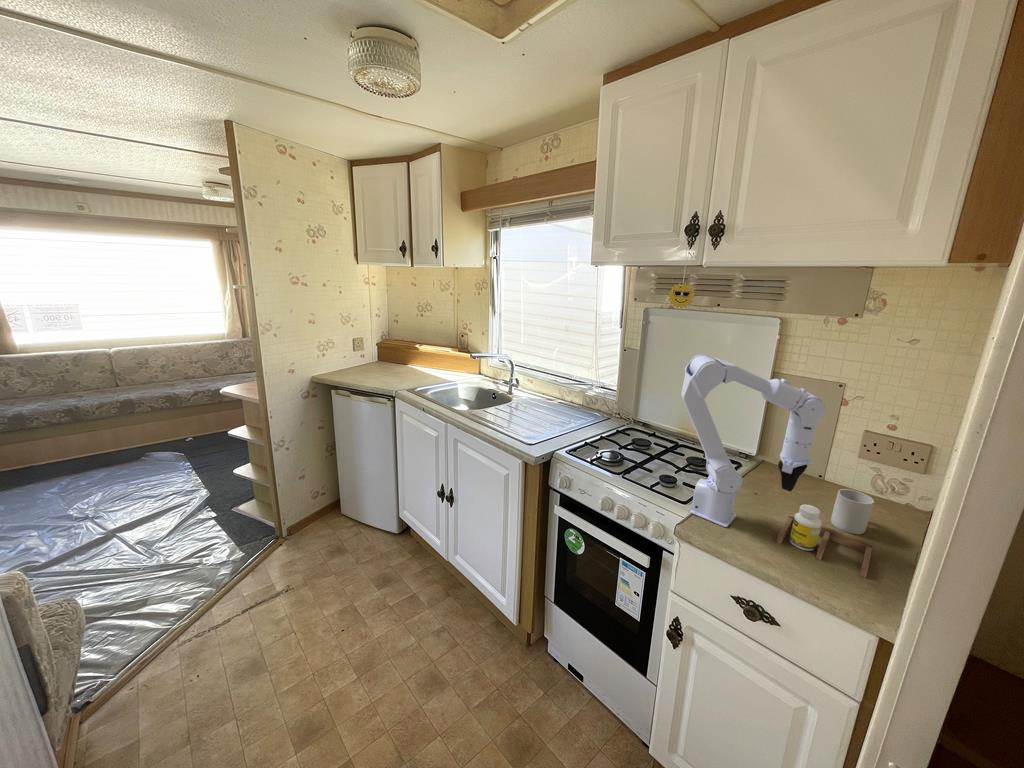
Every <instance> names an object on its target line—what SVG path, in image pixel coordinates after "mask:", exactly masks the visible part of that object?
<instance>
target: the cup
mask: <svg viewBox="0 0 1024 768" xmlns="http://www.w3.org/2000/svg"><path fill="white" fill-rule="evenodd" d="M874 503H875V501H874V499H873V497H871V496H870V495H867V494H865V493H862V492H861V491H857V490H854V489H847V488H845V489H844V488H842V489H838V491H837V495H836V498H835V501H834V506H833V510H832V514H831V516H830V517H831V518H830V522H831V524H832V525H833V526H834V527H835V528H836V529H838V530H841V531H842V532H843V533H844V532H845V533H848V534H853V535H862V534H864V533H865V532H866V530H867V527H868V524H869V520H870V516H871V514H872V510H873V506H874Z"/></svg>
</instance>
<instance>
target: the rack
mask: <svg viewBox="0 0 1024 768" xmlns="http://www.w3.org/2000/svg"><path fill="white" fill-rule="evenodd" d="M794 516H795V514H788V517H787V518H786V521H785V522H784V523H783V525H782V527H781V529H780V531H779V532H778V534H777V536H776V537H777V538H776V543H778V544H780V545H782V543H783V541H784V540H785V538H786V535H787V534H788V533H789V531H790V529H791V528H792V525H793V520H794ZM819 537H821V541H820V544H819V547H818V548H817V551H816V556H815V559H817V560H819V561H822V558H823V557H824V556H823V555H824V553H825V551H826V548H827V545H828V542H829V541H832V542H835V543H837V544H840V545H843V546H846V547H848V548H851V549H854V550H857V551H860V552H862V553H864V555H863V560H862V563H861V569H860V572H859V577H862V578H864V579H866V577H867V575H868V570H869V566H870V562H871V561H870V560H871V557H872V550H873V547H874V543H872V542H869V541H866V540H863V539H861V538H858V537H855V536H852V535H850V534H846V533H844V532H841V531H839V530H838V531H837V530H835V529H833V528H830V527H827V526H824V525H821V529H820V534H819Z"/></svg>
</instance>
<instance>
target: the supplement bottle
mask: <svg viewBox="0 0 1024 768" xmlns="http://www.w3.org/2000/svg"><path fill="white" fill-rule="evenodd" d="M798 511H799V512H797V513H795V514H794V520H793V525H792V526H791V530H790V531H791V532H790V535H789V542H790V543H791V544H792V545H793V546H794V547H796V548H798V549H800V550H802V551H806V552H807V551H808V552H809V551H810V552H813V551H814V550H816V549H817V546H818V542H819V538H820V536H819V534H820V529H821V525H822V523H823V522H822V520H821V518H820V516H821V510H820V509H819V508H817V507H816V506H813V505H811V504H801V505H800V507H799V509H798ZM822 526H823V525H822Z"/></svg>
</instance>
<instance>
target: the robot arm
mask: <svg viewBox="0 0 1024 768" xmlns="http://www.w3.org/2000/svg"><path fill="white" fill-rule="evenodd" d="M714 359H715V360H714ZM731 382H736V383H738V384H741V385H743V386H745V387H747V388H751V389H752V390H755V391H758V392H760V394H761V396H762V398H763V400H765V401H767V402H769V403H771V404H774V405H776V406H778V407H780V408H782V409H784V410H786V411H789V412H790V413H789V416H788V417H789V418H788V421H787V426H786V431H785V435H784V440H783V445H782V449H781V452H780V453H779V458H780V460H779V461H778V463H777V467H778V469H779V472H780V480H781V489H782V490H785V491H788V492H792V491H793V490H794V488H795V486H796V484H797V481H798V479H799V478H800V476H801V475H802V474H803V473H805V471H806V469H807V468H808V465H809V466H812V465H814V463H815V460H814V459H811V458H810V454H811V450H812V445H813V441H814V438H815V433H816V429H817V426H818V423H819V421H820V420H821V418H823V417H824V416H825V414H826V413H827V412H828V411H827V409H826V408H825V407H826V406H825V402H823V400H822V399H821V398H820V397H817V396H815V395H814V394H812V393H810V392H808V390H807V389H805V388H803V387H801V388H799V387H796V386H794V385H791V384H789V383H790V382H789V381H788V380H786V379H784V378H780V379H779V378H772V379H768V380H766V379H765V378H763V377H761V376H759V375H756V374H755V373H753V372H750V371H748V370H746V369H744V368H742V367H741V366H738V365H736V364H735V363H732V362H729V361H726V360H723V359H721V358H717V357H714V358H713V357H711V356H710V355H709V354H704V353H700V354H696V355H695V356H693V357H692V358H691V359H690V361H689V362H688V364H687V365H686V367H685V368H684V379H683V383H682V388H681V391H680V393H681V395H680V396H681V400H682V401H683V404H684V405H685V409H686V411H687V413H688V415H689V418H690V420H691V423H692V425H693V429H694V430H695V432H696V436H697V437H698V440H699V442H700V445H701V447H702V450H703V452H704V457H705V460H706V465H705V469H706V472H707V473H708V477H707V479H705V478H699V480H698V481H697V482H696V485H695V488H694V491H693V497H692V503H691V509H690V511H689V513H691V514H693V515H695V516H697V517H699V518H702V519H704V520H707V521H709V522H712V523H715V525H716V524H717V525H719V526H721V527H724V528H728V527H729V526H730V525H731V523H732V522H733V521H734V520H735V518H736V517H737V513H735V512H733V511H734V505H735V500H736V494H737V492H738V490H739V489H740V488H741V487H742V485H743V477H742V475H741V474H740V473H739V472H738V471H737V469H735V467H734V466H733V464H732V462H731V460H730V458H729V456H728V454H727V452H726V450H725V447H724V445H723V443H722V442H723V441H722V439H721V438H720V435H719V432H718V430H717V428H716V425H715V423H714V420H713V418H712V415H711V413H710V410H709V407H708V406H707V402H706V398H707V396H708V394H709V393H710V392H712V391H713V390H714V389H715V388H717V387H718V386H720V384H722V383H724V384H728V383H729V384H730V383H731Z"/></svg>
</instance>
